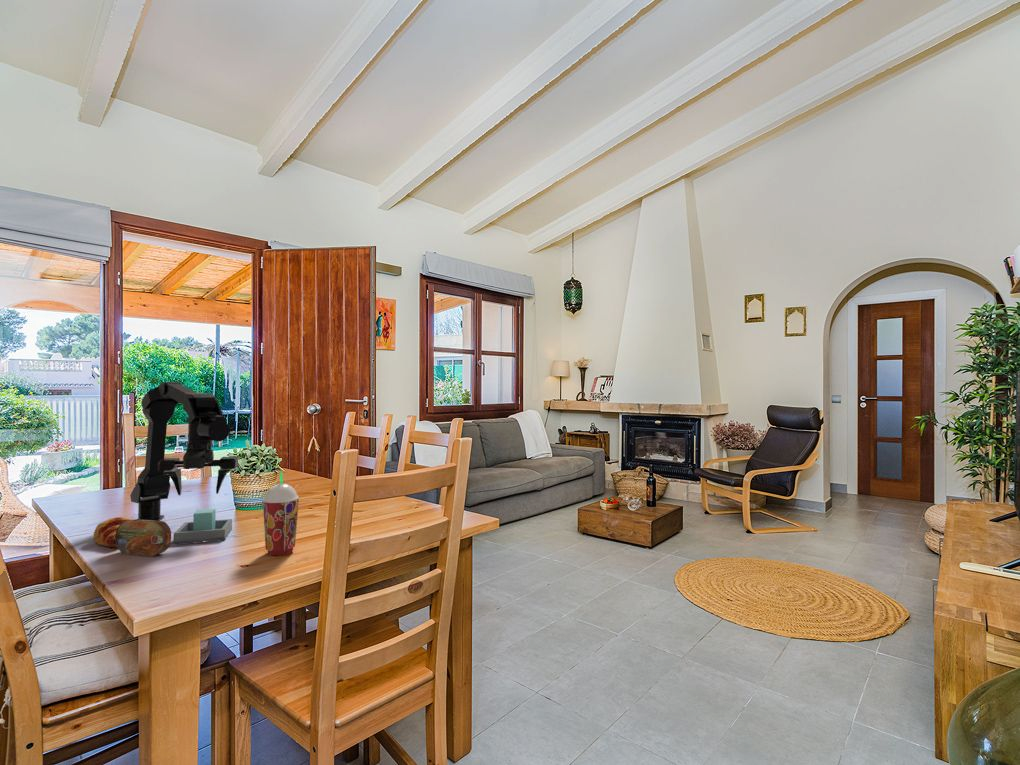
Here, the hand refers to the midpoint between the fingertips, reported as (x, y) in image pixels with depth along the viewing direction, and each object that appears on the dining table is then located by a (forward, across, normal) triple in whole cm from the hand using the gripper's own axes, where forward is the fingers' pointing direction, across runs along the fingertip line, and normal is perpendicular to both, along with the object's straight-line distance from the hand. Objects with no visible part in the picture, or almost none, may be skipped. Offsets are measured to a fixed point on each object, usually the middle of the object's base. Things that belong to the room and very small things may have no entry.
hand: (198, 494), depth 145 cm
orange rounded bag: (+12, -9, -14) cm, 20 cm away
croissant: (+12, -19, +2) cm, 23 cm away
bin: (+12, +2, -2) cm, 12 cm away
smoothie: (+11, +23, -24) cm, 35 cm away
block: (+10, +2, -2) cm, 11 cm away
